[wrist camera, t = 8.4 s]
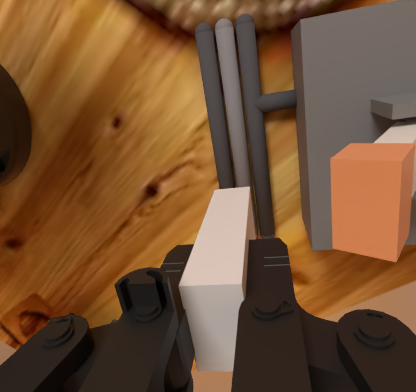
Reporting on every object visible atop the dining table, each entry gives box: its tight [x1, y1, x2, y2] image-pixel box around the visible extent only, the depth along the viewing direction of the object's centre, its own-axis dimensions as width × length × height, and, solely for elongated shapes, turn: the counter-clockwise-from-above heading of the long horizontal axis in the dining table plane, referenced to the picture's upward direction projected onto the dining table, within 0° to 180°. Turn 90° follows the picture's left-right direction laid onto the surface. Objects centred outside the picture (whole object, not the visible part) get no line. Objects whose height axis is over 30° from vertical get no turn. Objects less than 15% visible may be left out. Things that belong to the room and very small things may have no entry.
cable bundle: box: [195, 14, 297, 239], centre depth 27 cm, size 8×19×1 cm, turn 9°
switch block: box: [291, 0, 416, 251], centre depth 21 cm, size 12×16×10 cm
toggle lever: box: [330, 117, 416, 262], centre depth 16 cm, size 2×4×11 cm
